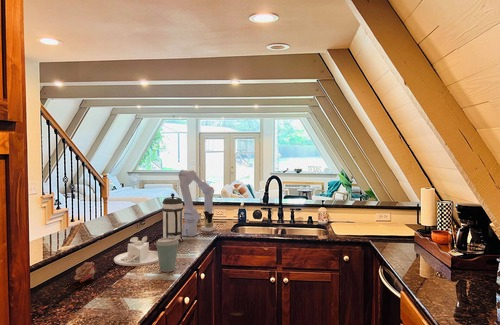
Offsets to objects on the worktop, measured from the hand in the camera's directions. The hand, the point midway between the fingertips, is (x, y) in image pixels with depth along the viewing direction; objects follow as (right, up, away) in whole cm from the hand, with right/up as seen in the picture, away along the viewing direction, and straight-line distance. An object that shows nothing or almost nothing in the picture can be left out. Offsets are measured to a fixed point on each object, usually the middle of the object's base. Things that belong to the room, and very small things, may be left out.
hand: (208, 222), depth 266 cm
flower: (-42, -9, -104) cm, 113 cm away
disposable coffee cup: (-10, -9, -89) cm, 90 cm away
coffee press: (-18, -7, -33) cm, 38 cm away
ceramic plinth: (0, -6, 0) cm, 6 cm away
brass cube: (0, -3, 0) cm, 3 cm away
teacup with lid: (-11, -5, +19) cm, 22 cm away
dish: (-29, -9, -70) cm, 77 cm away
